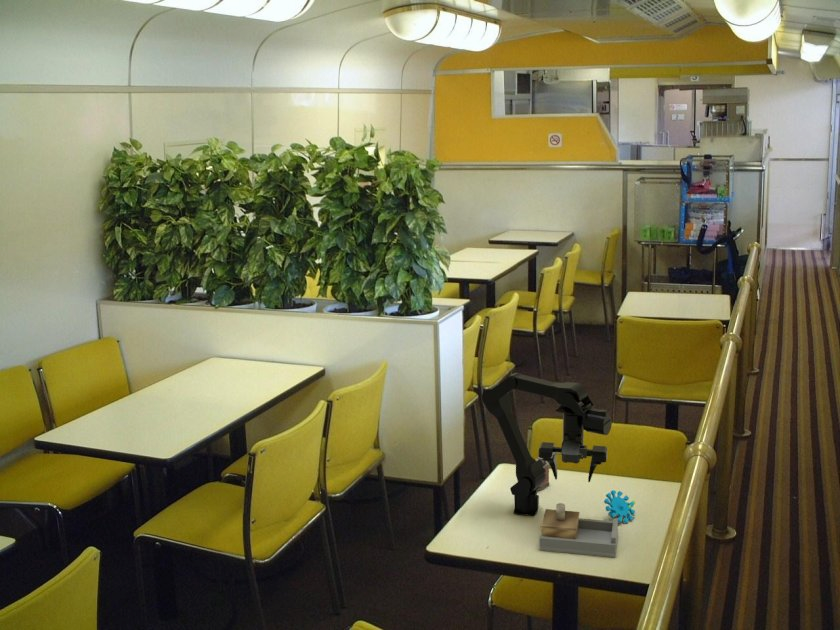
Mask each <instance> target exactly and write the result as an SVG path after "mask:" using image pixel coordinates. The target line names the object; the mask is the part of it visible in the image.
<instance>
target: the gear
mask: <svg viewBox="0 0 840 630" xmlns="http://www.w3.org/2000/svg"><path fill="white" fill-rule="evenodd" d="M616 494H617V495H616ZM623 494H624V493H623V492H622V491H620V490H619V491H616V490H615V489H613V490H611V491H610V492H608V493H607V494H605V497H606V498H604V500H603V503H604V504H606V506H605V512H608V513H607V514H608V515H609V516H610V518H611V519H613V518H615V517H616V516H618V517H617V519H618V524H620V523H621V522H622V521H623V524H628V523H629V521H632V520H633V519H634V516H633V515H634V514H635V513H636V510H634V509H633V507H634V505H636V501H635V500H631V502H627V501H629V500H630V497H629V496H628V495H625V496H623ZM622 496H623V497H622ZM622 518H623V519H622Z"/></svg>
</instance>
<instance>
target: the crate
mask: <svg viewBox="0 0 840 630" xmlns="http://www.w3.org/2000/svg"><path fill="white" fill-rule="evenodd" d="M555 507H556V508H555V509H552V508H551V509H549V508H545V510H544V513H543V518H542V521H541V525H540V528H541V536H545V537H556V538H567V539H577V534H578V528H579V518H580V511H572V510H566V504H564V503H561V502H559V503H556V504H555Z"/></svg>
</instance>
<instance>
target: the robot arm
mask: <svg viewBox="0 0 840 630" xmlns="http://www.w3.org/2000/svg"><path fill="white" fill-rule="evenodd" d="M515 390H517V391H522V392H525V393H529V394H533V395H537V396H541V397H543V398H544V397H546V398H548V399H551V400H553V401H554V402H555V403H557V404H558V405H559V406H558V408H556V409H555V412H556V413H561V414H562V442H561V446H560V447H559V446H556V445H555V442H545V441H541V443H540V445H539V448H538V457H539V458H543V460H544V461H546V462H548V463H549V464H550V466H549V467H550V468H551V471H552V474H553V478H554V479H555V480H558V464H557V455H561V462H562V463H566V464H567V463H573V464H579V463H580V461H581V460H583V459H587V458H588V457H591V460H590V465H589V471H588V477H587V478H588V479H587V480H588V481H587V482H588V483H590V482H591V479H592V476H593V474H594V471H595V470H596V468H597V466H598V465H602V463H604V464H605V463H607V460H608V447H606V446H605V445H593V446H592V449H590V448H589V449H588V446H587V445H584V434H585V433H584V432H587V433H593V434H597V435H602V436H608V435H609V434H610V433H611V429H612V425H613V424H612V423H613V420H612V418H611V415H610V414H609V413H610V412H609V410H607V409H599V408H595V407H596V405H595V404H594V402H593V400H592V399H591V398H590V395H589V394H588V392H587V388H586V387H585V385H584V384H583V383H580V382H574V381H573V382H569V381H567V382H554V381H551V380H546V379H542V378H538V377H533V376H530V375H525V374H523V373H520V372H514V373H512V374H510V375H508V376H507V377H506V378H505V379H504V380H502V381H501V382H499V383H496V384H494V385H492V386H490V387H488V388H487V389H485V390H484V391H483V392H482V394H481V399H480V400H481V402H482V404H483V405H484V407H485V409H486V410H487V412H488V413H489V414H491V415H492V416H493V417H494V418H495V419H496V421H497V423H498V425H499V427H500V431H501V432H502V435H503V438H504V440H505V441H506V444H507V446H508V448H509V451H510V453H511V455H512V457H513V460H514V463H515V477H516V481H517V482H515V483H514V484H513V485H511V486H510V488H509V489H510V492H511V495H512V496H514V497H513V498H514V505H513V506H514V509H513V513H512V514H513V515H518V516H519V515H520V516H532V517H535V516H536V515H537V513H538V511H539V507H540V505H539V504H540V502H539V501H540V495H539V494H538V492H537V490H536V489H537V488H539V487H540V485H541V484H542V483H543V482H544V481H545V478H546V475H545V472H546V470H545V469H544V468H543V466H542V462H541V460H540V459H539V460H537V461H536V459H535V458H534V457H533V456H531V455H532V454H531V453H530V451H529V449H528V447H527V444H526V442H525V439H524V438H523V434H522V433H521V430H520V428H519V426H518V424H517V421H516V419H515V417H514V414H513V411H512V398H511V393H513V392H514V391H515ZM580 404H582V405H580Z"/></svg>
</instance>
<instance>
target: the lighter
mask: <svg viewBox="0 0 840 630" xmlns="http://www.w3.org/2000/svg"><path fill="white" fill-rule="evenodd" d="M539 459H540V460H541V462H542V466H543V468H544V469H545V470H546V472H545V475H546V478H545V481H544V482H543V483H542V484H541V485H540V487H539V488H537V489H536V490H537V493H539V492H542V491H544V490H546V489H547V488H549V487H550V467H551V466H550V464H549V463H548V462H547V461H544V460H543V458H539V456H538V457H537V458H536V459H535V460H536V461H537V460H539Z"/></svg>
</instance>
